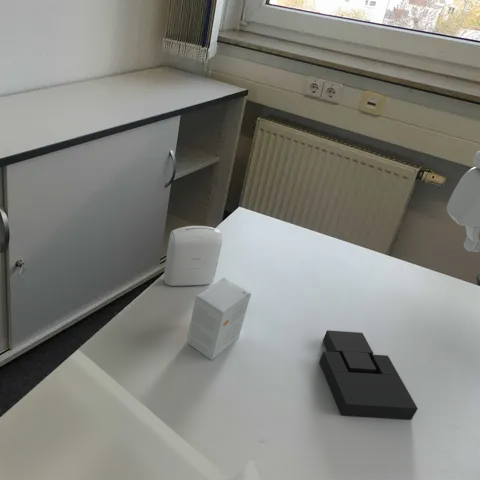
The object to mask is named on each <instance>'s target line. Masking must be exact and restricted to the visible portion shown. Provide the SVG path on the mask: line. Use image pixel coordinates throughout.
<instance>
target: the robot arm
mask: <svg viewBox="0 0 480 480" xmlns="http://www.w3.org/2000/svg"><path fill="white" fill-rule="evenodd" d="M472 163H473V164H474V165H475V167H472V168H470V169H469V170H467V171H466V172H465V173H464V174H463V175H462V176H461V178H460V180H459V181H458V183H457V185H456V186H455V188H454V190H453V192H452V194H451V195H450V198H449V199H448V202H447V205H446V211H447V215H448V216H449V217H450V219H452V220H453V221H454V222H455V223H456V224H458V226H462V227H465V233H466V238H465V240H464V242H463V248H464V249H465V250H466V251H467V252H474V253H479V252H480V237H479V234H480V150H478V151H476V153H475V154H474V157H473V159H472Z"/></svg>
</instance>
